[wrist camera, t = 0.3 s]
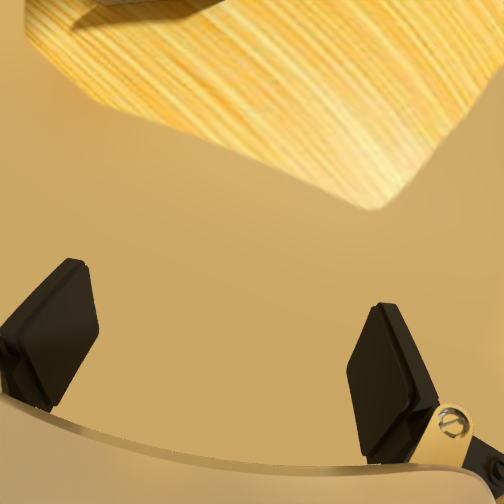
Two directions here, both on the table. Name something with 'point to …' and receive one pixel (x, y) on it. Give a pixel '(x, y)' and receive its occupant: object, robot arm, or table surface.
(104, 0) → the bay
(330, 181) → the table surface
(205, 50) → the table surface
